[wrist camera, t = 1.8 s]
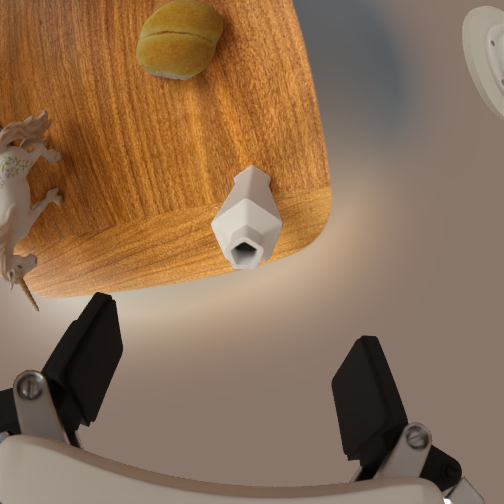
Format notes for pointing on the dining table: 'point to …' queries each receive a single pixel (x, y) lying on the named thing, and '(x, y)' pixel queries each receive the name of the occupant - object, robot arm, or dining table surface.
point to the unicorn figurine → (21, 194)
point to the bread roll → (179, 39)
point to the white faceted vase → (248, 220)
